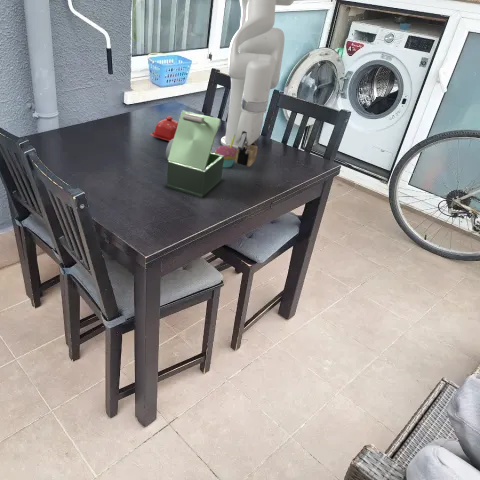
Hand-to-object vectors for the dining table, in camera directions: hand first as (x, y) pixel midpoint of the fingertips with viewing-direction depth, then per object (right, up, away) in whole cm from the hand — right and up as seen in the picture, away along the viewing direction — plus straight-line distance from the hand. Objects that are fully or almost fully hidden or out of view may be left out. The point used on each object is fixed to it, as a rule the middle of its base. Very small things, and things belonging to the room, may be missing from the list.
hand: (245, 160), depth 142 cm
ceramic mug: (-20, +4, +20) cm, 28 cm away
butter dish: (-24, +16, +38) cm, 48 cm away
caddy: (-16, -7, +5) cm, 18 cm away
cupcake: (-4, +1, +18) cm, 18 cm away
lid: (-17, +5, -7) cm, 19 cm away
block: (0, 0, 0) cm, 0 cm away
